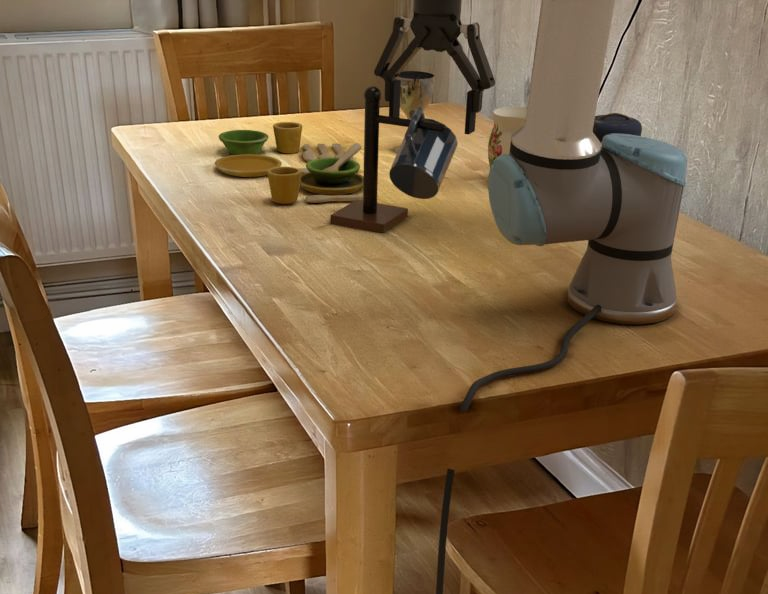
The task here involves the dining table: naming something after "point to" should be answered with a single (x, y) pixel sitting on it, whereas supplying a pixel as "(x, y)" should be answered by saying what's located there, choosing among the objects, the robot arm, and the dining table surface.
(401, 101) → the wine glass
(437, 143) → the mug
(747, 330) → the dining table surface
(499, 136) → the pitcher
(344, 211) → the cup holder
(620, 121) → the canister
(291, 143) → the tableware set
